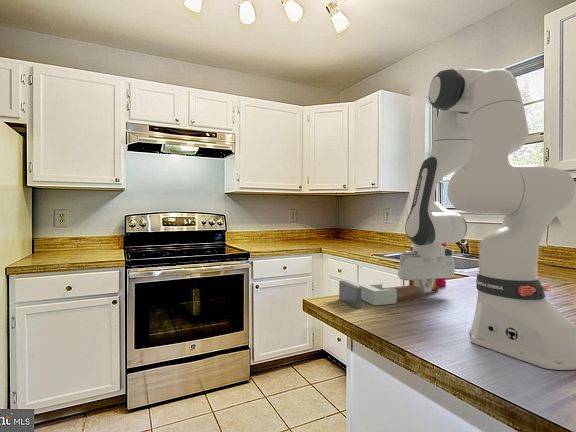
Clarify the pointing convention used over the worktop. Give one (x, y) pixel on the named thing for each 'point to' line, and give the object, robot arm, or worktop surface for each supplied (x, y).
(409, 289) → the brown wooden block
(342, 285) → the grey upright slab
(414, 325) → the worktop surface
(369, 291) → the block
